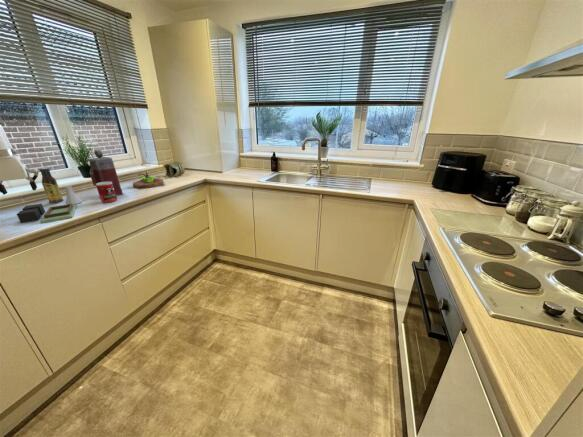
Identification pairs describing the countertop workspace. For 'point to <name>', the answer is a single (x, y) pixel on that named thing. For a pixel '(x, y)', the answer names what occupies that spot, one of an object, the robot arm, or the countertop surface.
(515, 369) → the countertop surface
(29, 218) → the black square block
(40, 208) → the black pad
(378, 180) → the countertop surface
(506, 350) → the countertop surface
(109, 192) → the canned food
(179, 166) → the piston
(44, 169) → the sauce bottle
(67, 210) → the joiner board
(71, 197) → the flask
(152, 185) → the plant
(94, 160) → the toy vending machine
